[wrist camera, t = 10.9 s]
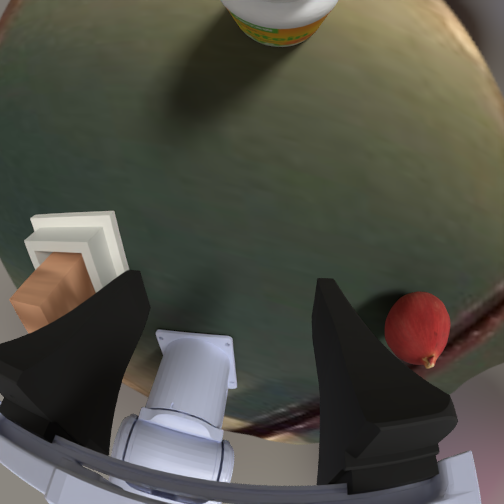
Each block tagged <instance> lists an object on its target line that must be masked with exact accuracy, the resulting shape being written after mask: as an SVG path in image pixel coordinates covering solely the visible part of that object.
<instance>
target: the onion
mask: <svg viewBox="0 0 504 504" xmlns="http://www.w3.org/2000/svg"><path fill="white" fill-rule="evenodd" d="M449 331H450V318H449V315H448V313H447V310H446V308H445V306H444V304H443V303H442V302H441V301H440V300H439V299H438V298H437V297H435V296H434V295H432V294H430V293H427V292H414V293H409V294H406V295H404V296H403V297H401V298H400V299H399V300H398V301H397V302H396V303H395V304H394V305H393V306H392V308H391V310H390V311H389V313H388V315H387V318H386V321H385V339H386V341H387V344H388V346H389V347H390V348H391V350H392V351H393V352H394V354H395V355H396V356H397V357H398V358H400V359H401V360H404V361H406V362H408V363H411V364H417V365H424V366H425V367H426V368H431V367H434V365H435V362H436V360H437V358H438V357H439V355H440V354H441V353H442V351H443V350H444V348H445V346H446V343H447V340H448V335H449Z"/></svg>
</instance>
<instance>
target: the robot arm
mask: <svg viewBox="0 0 504 504" xmlns="http://www.w3.org/2000/svg"><path fill="white" fill-rule="evenodd" d="M149 311H150V304H149V301H148V298H147V294H146V291H145V287H144V284H143V280H142V277H141V273H140V271H136V270H127V271H125V272H124V273H122V274H121V275H119V276H118V277H116V278H115V279H114V280H112V281H111V282H110V283H108V284H107V285H106V286H104V287H103V288H102V289H100V290H99V291H98V292H96V293H95V294H94V295H93V296H91V297H90V298H88V299H87V300H86V301H84V302H83V303H81V304H80V305H79V306H77V307H76V308H74V309H73V310H71V311H70V312H68V313H67V314H65V315H64V316H62V317H60V318H59V319H57V320H55V321H53V322H52V323H50V324H48V325H46V326H44V327H42V328H40V329H38V330H36V331H34V332H32V333H29V334H27V335H25V336H22V337H20V338H17V339H14V340H11V341H8V342H5V343H1V344H0V393H1V395H2V396H3V397H4V399H3V401H2V402H1V401H0V463H2V464H3V465H4V466H5V467H7V468H8V469H9V470H10V471H12V472H13V473H14V474H15V475H17V476H18V477H20V478H21V479H22V480H24V481H25V482H27V483H28V484H29V485H31V486H32V487H34V488H35V489H37V490H38V491H40V492H41V493H43V494H45V495H44V497H45V499H46V501H47V502H48V503H50V504H221V503H222V502H223V503H232V504H481V497H480V491H479V485H478V480H477V475H476V469H475V465H474V461H473V456H472V452H471V451H466V452H463V453H460V454H457V455H454V456H451V457H448V458H445V459H443V460H440V461H438V462H437V460H436V455H437V454H438V453H439V447H438V443H439V442H440V441H441V440H442V439H443V438H445V437H446V436H447V435H448V434H449V433H450V432H451V431H452V430H453V429H454V428H455V426H456V425H457V422H458V419H457V416H456V412H455V408H454V405H453V402H452V400H451V397H450V395H448V394H447V393H445V392H443V391H442V390H440V389H438V388H437V387H435V386H433V385H432V384H430V383H429V382H427V381H426V380H424V379H423V378H422V377H420V376H419V375H417V374H416V373H415V372H413V371H412V370H411V369H410V368H408V367H407V366H406V365H405V364H404V363H402V362H401V361H400V360H399V359H398V358H397V357H395V356H394V355H393V354H392V353H391V352H390V351H389V350H388V349H387V348H386V347H385V346H384V345H383V344H382V343H381V342H380V341H379V340H378V339H377V338H376V336H375V335H374V334H373V333H372V332H371V331H370V329H369V328H368V327H367V326H366V325H365V323H364V322H363V321H362V319H361V318H360V317H359V315H358V314H357V313H356V311H355V310H354V309H353V307H352V306H351V304H350V303H349V302H348V300H347V299H346V297H345V296H344V294H343V293H342V291H341V289H340V288H339V286H338V285H337V283H336V281H335V280H334V279H331V278H317V286H316V292H315V299H314V306H313V312H312V338H313V346H314V353H315V360H316V367H317V374H318V381H319V391H320V443H319V462H318V463H319V464H318V476H317V485H314V486H267V485H249V484H237V483H230V481H231V477H232V472H233V465H234V450H233V448H232V446H231V445H230V443H229V441H227V440H222V437H223V430H222V429H221V428H222V423H223V417H224V411H225V405H226V399H227V393H228V388H231V389H235V388H237V378H236V369H235V359H234V350H233V339H232V338H231V337H230V336H224V335H211V334H199V333H188V332H178V331H169V330H160V329H158V330H157V331H156V337H157V340H158V343H159V345H160V348H161V351H162V353H163V358H162V360H161V363H160V366H159V369H158V372H157V374H156V377H155V380H154V383H153V386H152V389H151V392H150V394H149V397H148V400H147V403H146V406H145V408H144V407H142V408H141V411H140V414H139V416H137V415H135V414H131V415H130V416H128V417H125V418H124V419H123V421H122V423H121V425H120V427H119V429H118V432H117V435H116V438H115V441H114V445H113V449H112V455H111V457H110V456H108V455H109V447H110V437H111V428H112V423H113V417H114V411H115V407H116V402H117V398H118V393H119V390H120V387H121V383H122V379H123V376H124V373H125V371H126V368H127V366H128V363H129V361H130V359H131V357H132V354H133V352H134V350H135V348H136V345H137V343H138V341H139V339H140V336H141V334H142V332H143V330H144V327H145V324H146V321H147V318H148V314H149ZM227 343H228V344H227ZM82 465H83V466H86V467H88V468H91V469H93V470H96V471H98V472H101V473H104V474H106V475H109V481H108V480H106V479H105V478H103V477H102V476H101V475H99V474H98V473H95V472H93V471H91V470H89V469H87V468H85V467H83V466H82Z"/></svg>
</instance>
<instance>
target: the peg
mask: <svg viewBox="0 0 504 504" xmlns="http://www.w3.org/2000/svg"><path fill="white" fill-rule="evenodd" d="M95 293H96V292H95V289H94V287H93V284H92V282H91V279H90V276H89V274H88V271H87V268H86V265H85V262H84V259H83V257H82V254H81V253H70V252H52V253H51V254H50V255H49V256H48V258H47V259H46V260H45V261H44V262H43V263H42V264H41V265H40V266H39V267H38V268H37V269H36V270H35V271H34V272H33V273H32V274H31V275H30V277H29V278H28V279H27V280H26V281H25V282H24V283H23V284H22V285H21V286H20V288H19V289H18V290H17V291H16V292H15V293H14V295H13V296H12V297H11V298H10V302H11V304H12V305H13V307H14V309H15V311H16V313H17V315H18V316H19V318H20V320H21V321H22V323H23V325H24V326H25V328H26V330H27V331H28V333H32V332H34V331H36V330H38V329H40V328H42V327H44V326H46V325H48V324H50V323H52V322H53V321H55V320H57V319H59V318H60V317H62V316H64V315H65V314H67V313H68V312H70V311H71V310H73V309H74V308H76V307H77V306H79V305H80V304H81V303H83V302H84V301H86V300H87V299H88V298H90V297H91V296H93V295H94V294H95Z"/></svg>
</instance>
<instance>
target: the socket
mask: <svg viewBox="0 0 504 504" xmlns="http://www.w3.org/2000/svg"><path fill="white" fill-rule="evenodd" d="M30 219H31V222H32V225H33V228H34V231H35V232H34V233H33V234H31V235H30V236H29V237H28V238H27V239H26V240H25V241H24V242H25V245H26V247H27V250H28V253H29V255H30V258H31V260H32V263H33V265H34V267H35V270H36V269H37V268H38V267H39V266H40V265H41V264H42V263H43V262H44V261H45V260H46V259H47V258H48V256H49V255H50V254H51V253H52V252H70V253H81V254H82V257H83V259H84V262H85V265H86V268H87V271H88V274H89V276H90V279H91V282H92V284H93V287H94V289H95V292H98V291H99V290H100V289H102V288H103V287H104V286H106V285H107V284H108V283H110V282H111V281H112V280H114V279H115V278H116V277H118V276H119V275H121V274H122V273H124V272H125V271H127V270H129V267H128V263H127V260H126V256H125V252H124V249H123V245H122V241H121V237H120V233H119V229H118V225H117V220H116V216H115V212H114V211H98V212H75V213H56V214H40V215H34V216H33V217H32V218H30Z"/></svg>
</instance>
